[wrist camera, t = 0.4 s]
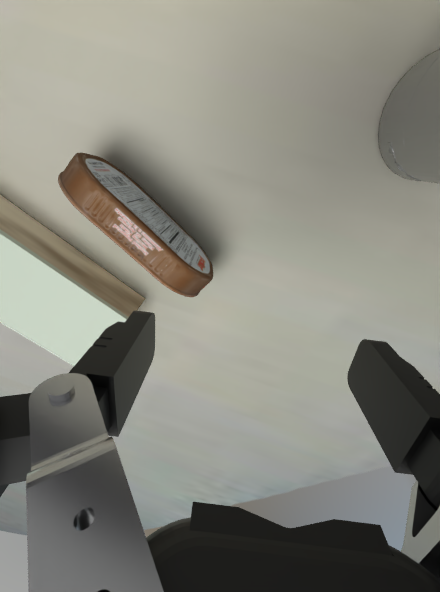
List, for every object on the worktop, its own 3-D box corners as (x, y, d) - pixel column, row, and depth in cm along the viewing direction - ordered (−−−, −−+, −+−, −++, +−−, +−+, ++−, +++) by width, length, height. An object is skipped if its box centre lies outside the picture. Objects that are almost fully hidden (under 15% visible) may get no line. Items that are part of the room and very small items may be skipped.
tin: (90, 172, 26) (28, 178, 18) (108, 146, 24) (49, 140, 17) (202, 277, 30) (189, 316, 22) (221, 258, 29) (215, 294, 21)
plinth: (-40, 165, 26) (-98, 167, 22) (145, 298, 32) (129, 321, 27) (-63, 240, 30) (-116, 254, 25) (105, 346, 35) (86, 373, 31)
